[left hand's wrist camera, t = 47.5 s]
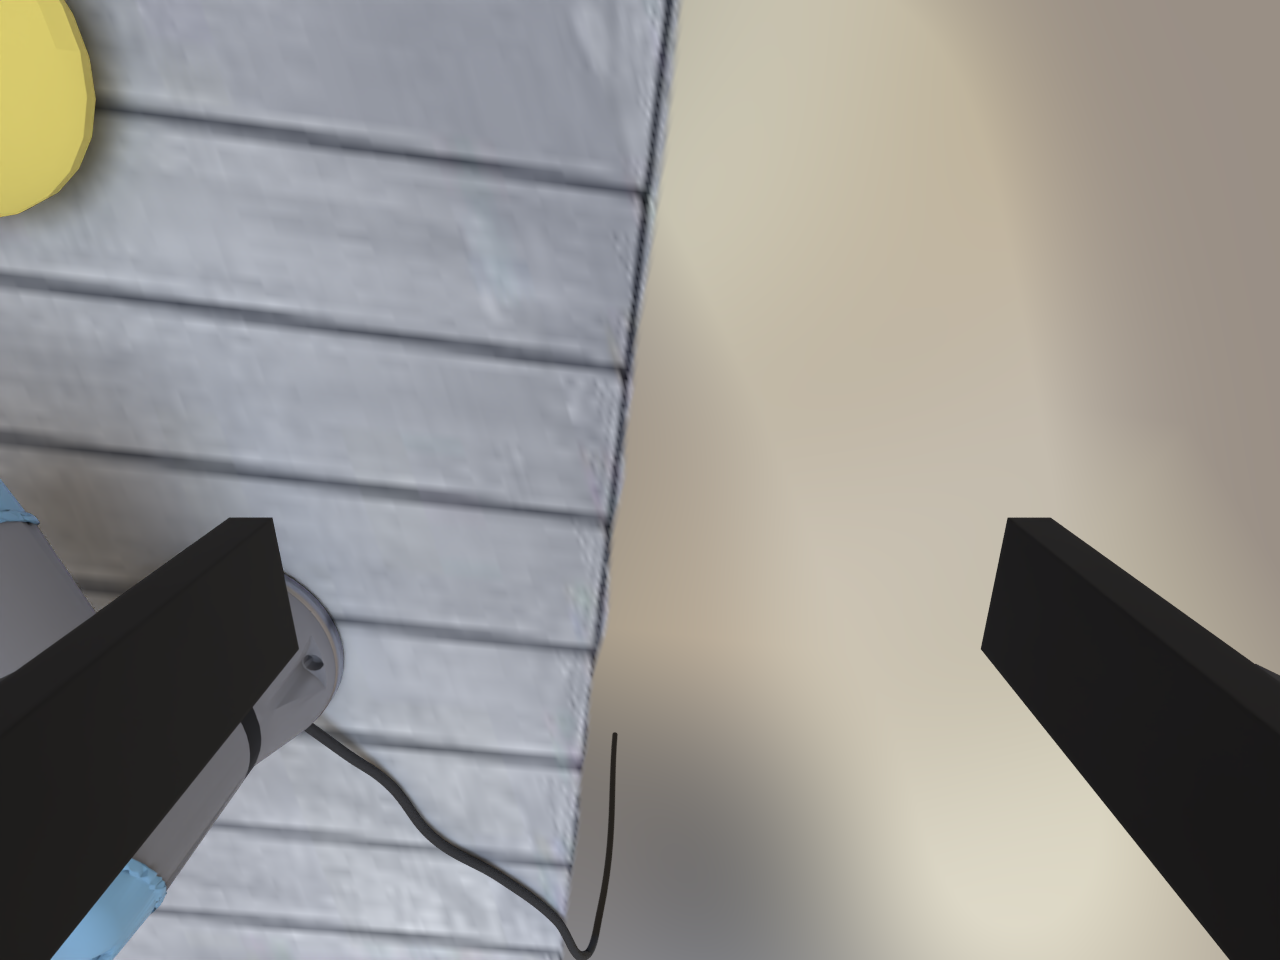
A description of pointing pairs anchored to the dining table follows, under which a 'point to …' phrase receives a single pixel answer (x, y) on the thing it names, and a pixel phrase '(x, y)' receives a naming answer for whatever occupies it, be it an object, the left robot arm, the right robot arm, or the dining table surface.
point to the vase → (41, 101)
